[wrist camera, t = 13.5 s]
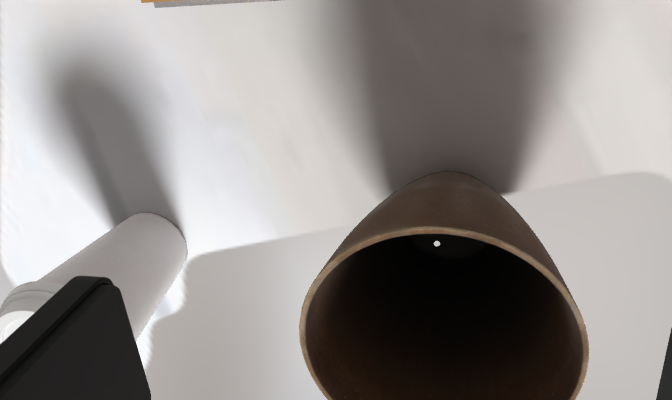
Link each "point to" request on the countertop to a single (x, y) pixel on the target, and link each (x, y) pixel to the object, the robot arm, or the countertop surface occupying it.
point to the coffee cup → (111, 271)
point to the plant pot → (443, 304)
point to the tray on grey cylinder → (195, 2)
